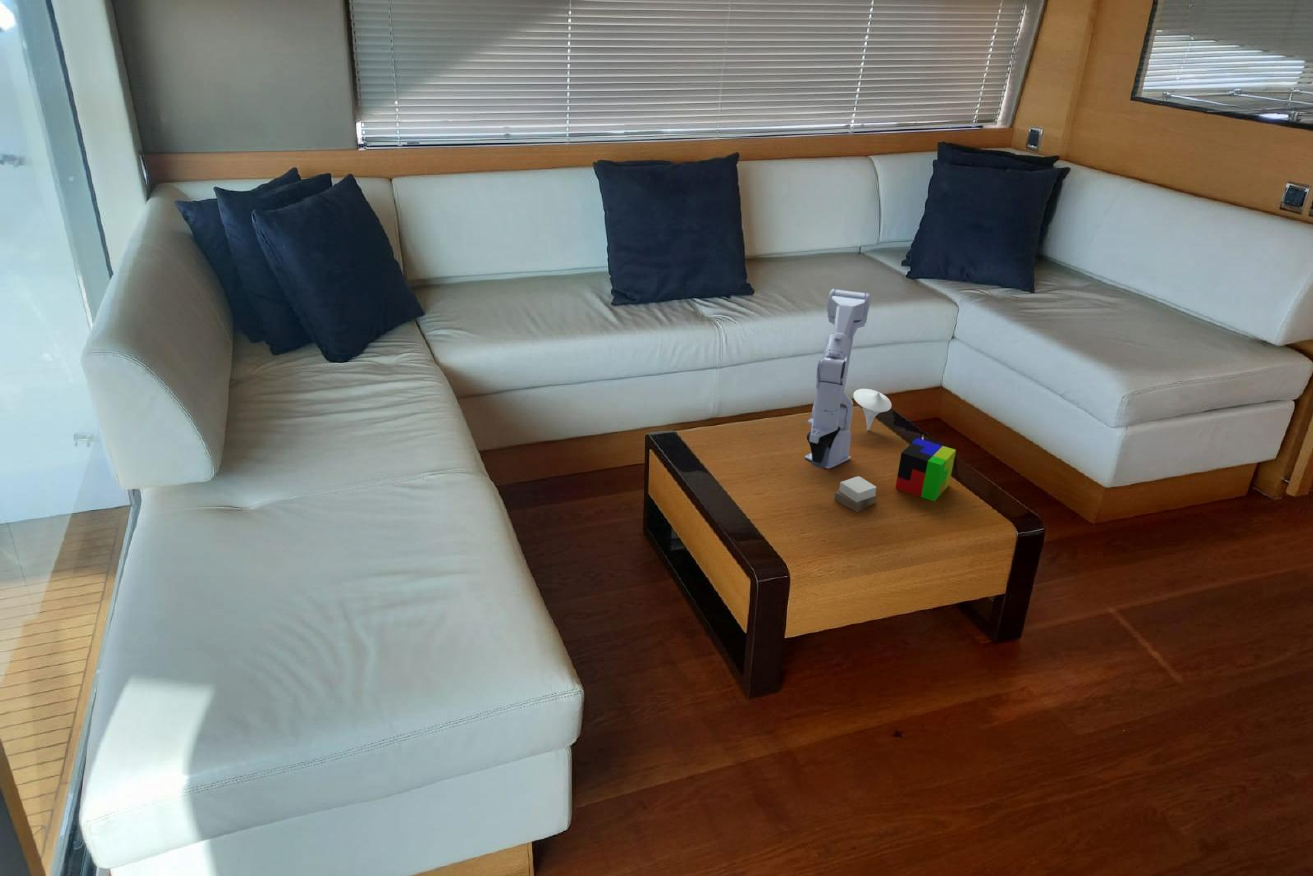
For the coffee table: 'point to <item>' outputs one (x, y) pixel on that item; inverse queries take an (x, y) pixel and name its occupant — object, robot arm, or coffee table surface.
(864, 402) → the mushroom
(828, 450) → the navy rounded cylinder
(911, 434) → the coffee table surface
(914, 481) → the puzzle toy
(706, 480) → the coffee table surface
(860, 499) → the cream top block
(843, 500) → the walnut base block
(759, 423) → the coffee table surface
